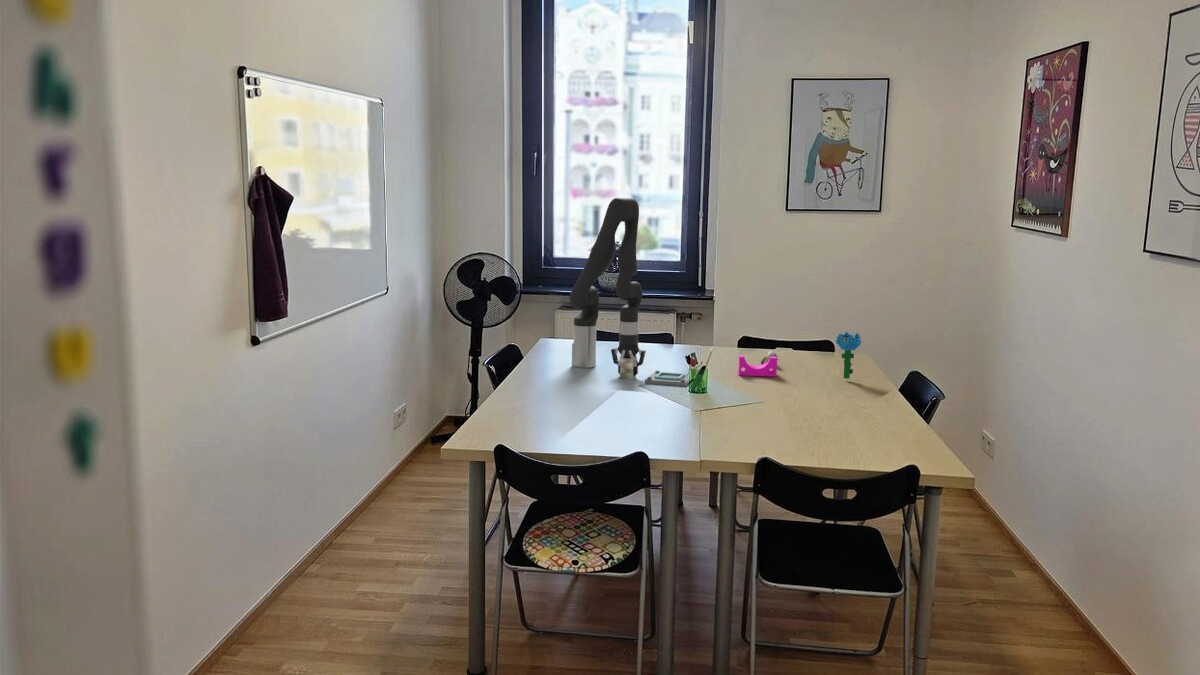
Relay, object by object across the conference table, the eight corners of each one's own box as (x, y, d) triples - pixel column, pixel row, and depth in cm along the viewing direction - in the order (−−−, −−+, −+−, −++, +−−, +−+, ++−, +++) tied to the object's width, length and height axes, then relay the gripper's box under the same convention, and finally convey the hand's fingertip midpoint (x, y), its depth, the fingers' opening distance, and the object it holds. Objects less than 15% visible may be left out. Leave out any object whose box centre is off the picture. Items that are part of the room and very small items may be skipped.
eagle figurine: (772, 371, 386) (767, 373, 378) (761, 359, 388) (755, 360, 380) (785, 359, 384) (780, 361, 376) (774, 347, 386) (768, 348, 378)
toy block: (775, 373, 369) (775, 355, 368) (776, 376, 363) (777, 358, 361) (738, 372, 370) (738, 354, 369) (738, 375, 364) (739, 357, 363)
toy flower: (831, 378, 359) (833, 333, 357) (840, 374, 367) (842, 331, 364) (853, 381, 354) (855, 336, 351) (861, 377, 361) (864, 333, 358)
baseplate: (644, 383, 345) (644, 377, 344) (654, 375, 360) (654, 370, 360) (685, 386, 340) (685, 380, 340) (694, 378, 355) (694, 372, 355)
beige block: (620, 378, 354) (620, 358, 353) (623, 376, 359) (623, 356, 357) (632, 379, 352) (632, 359, 351) (635, 376, 357) (636, 357, 356)
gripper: (608, 332, 351) (607, 375, 354) (644, 335, 347) (643, 378, 350) (613, 330, 358) (613, 372, 361) (648, 332, 354) (647, 374, 357)
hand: (627, 375), depth 355 cm, fingers closed on beige block, 5 cm apart
